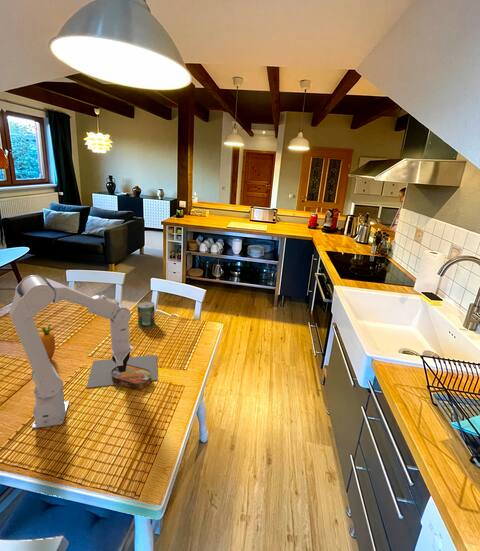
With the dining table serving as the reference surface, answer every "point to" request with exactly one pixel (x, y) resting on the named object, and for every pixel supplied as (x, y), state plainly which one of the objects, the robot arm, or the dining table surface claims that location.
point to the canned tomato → (146, 314)
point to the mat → (103, 368)
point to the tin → (132, 377)
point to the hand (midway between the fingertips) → (122, 370)
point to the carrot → (48, 341)
